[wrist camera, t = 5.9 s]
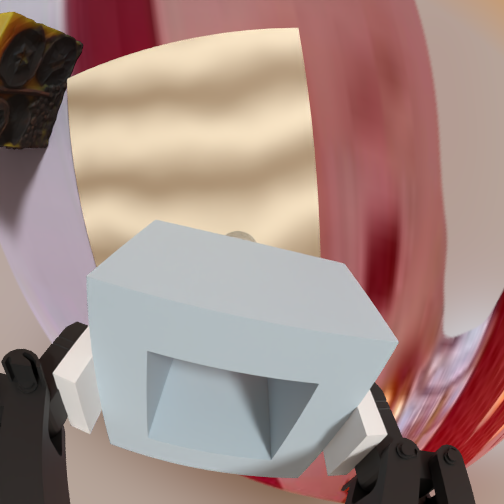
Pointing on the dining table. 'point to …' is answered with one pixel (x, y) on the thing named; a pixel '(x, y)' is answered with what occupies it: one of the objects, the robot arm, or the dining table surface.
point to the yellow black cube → (32, 79)
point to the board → (198, 141)
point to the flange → (229, 350)
